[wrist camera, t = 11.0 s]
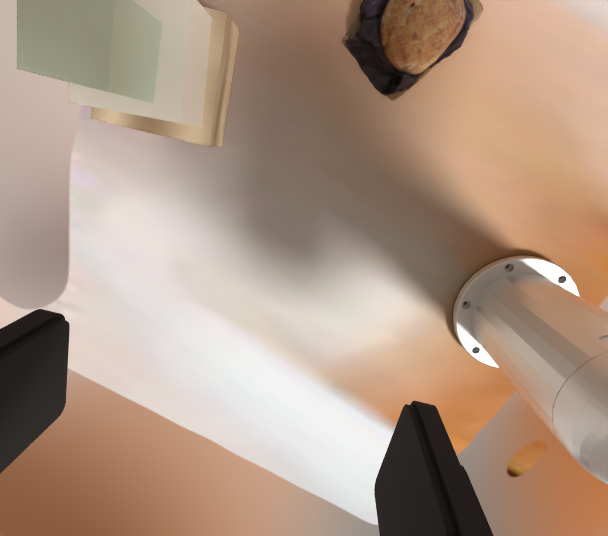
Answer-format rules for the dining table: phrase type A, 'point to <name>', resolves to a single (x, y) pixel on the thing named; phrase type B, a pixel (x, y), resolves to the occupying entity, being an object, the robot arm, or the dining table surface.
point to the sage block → (91, 44)
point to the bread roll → (407, 38)
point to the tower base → (215, 93)
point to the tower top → (167, 67)
